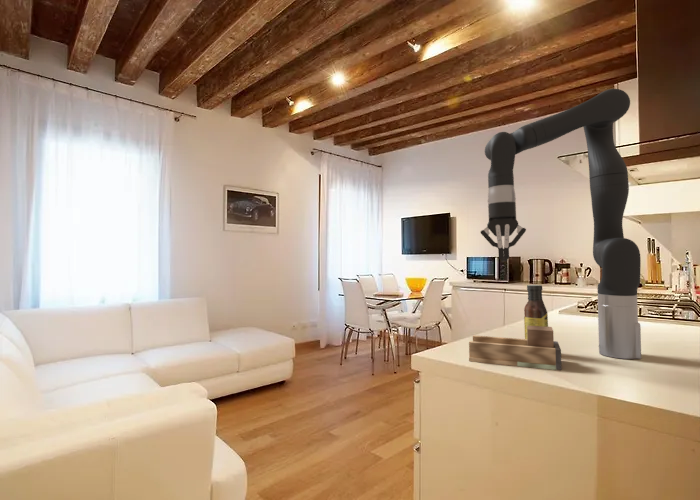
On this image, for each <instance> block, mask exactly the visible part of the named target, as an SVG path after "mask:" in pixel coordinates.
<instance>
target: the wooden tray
mask: <svg viewBox="0 0 700 500" xmlns="http://www.w3.org/2000/svg"><path fill="white" fill-rule="evenodd" d="M468 349H469V350H468V353H469V357H468V361H469V362H473V363H484V364H492V365H501V366H502V365H503V366H504V365H505V366H512V367H522V368H523V367H525V368H533V369H534V368H535V369H541V370H542V369H544V370H553V371H557V370H560V371H562V348H561V347H560V344H559V342H558V340H554V348H549V347H536V346H528V344H527V339H525V338H514V337H513V338H512V337H500V336H489V335H488V336H486V335H472V340H469V342H468Z"/></svg>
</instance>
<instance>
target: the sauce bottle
mask: <svg viewBox="0 0 700 500" xmlns="http://www.w3.org/2000/svg"><path fill="white" fill-rule="evenodd" d="M526 289H527V300H528V301H527V302H526V304H525V306H524V308H523V310H524V317H523V322H524V324H523V325H524V327H523V328H524V339H527V326H544V327H549V318H548V317H549V316H548V315H549V314H548V310H547V307H546V306H545V303H544V301H543V285H542V284H528V285H527V286H526Z"/></svg>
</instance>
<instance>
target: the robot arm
mask: <svg viewBox="0 0 700 500" xmlns="http://www.w3.org/2000/svg"><path fill="white" fill-rule="evenodd" d="M630 99H631V98H630V96H629V94H628V93H627V92H626V91H625V90H622V89H620V88H608V89H606V90H604V91H601V92H600V93H598V94H597V95H595V96H593V97H591V98H590V99H588V100H586V101H584V102H581V103H579V104H577V105H576V106H573V107H571V108H568V109H566V110H563V111H560V112H557V113H556V114H553V115H550V116H547V117H544V118H541V119H538V120H536V121H535V120H534V121H533V122H530V123H527V124H524V125H522V126H521V127H518V128H517V129H516V130H515V131H513V132H510V133H509V132H507V131H500V132H497V133H495V134H494V135H493V136H492V137H491V138H490V139H489V140H488V142H487V143H486V145H485V147H484V155H485V157H486V158H487V159H488V160H489V161H490V168H489V170H488V174H487V181H488V182H487V183H488V190H487V191H488V192H487V204H488V205H487V207H488V223H486V225H487V226H486V227H485V228H484V229H482V230H480V234H481V235H482V237H484V239H485V240H486V241H487V242H488V243H489V244H490V245H491V246H492V247H493V248H494V247H495V248H497V249H498V250H497V251H498V260H500V261H501V262H507V261H508V260H509V259H510V248H511V247H514V246H516V244H517V242H519V240H520V239H521V238H522V237H523V235H524V234H525V232H526V231H527V228H526V227H522V226H521V225H519V221H518V220H517V205H516V204H517V203H516V201H517V200H516V199H517V198H516V192H515V190H516V189H515V183H514V181H515V180H514V179H515V178H514V165H515V160H516V155H517V154H520V153H523V152H525V151H527V150H531V149H534V148H537V147H540V146H542V145H545V144H547V143H550V142H552V141H555V140H557V139H559V138H561V137H563V136H565V135H567V134H569V133H572V132H574V131H575V130H578V129H581V128H583V130H584V136H585V140H586V146H587V162H588V176H589V191H590V198H591V211H592V219H593V241H592V242H593V245H592V256H593V257H592V258H593V260H594V261H595V263H596V264H597V265H598V266H599V267H600V268H601V278H600V279H601V280H600V281H599V283H598V284H597V309H598V310H597V322H598V324H597V325H598V352H599V354H600V355H602V356H605V357H611V358H616V359H625V360H633V359H634V360H635V359H640V360H641V359H642V341H641V340H642V334H641V332H642V331H641V328H642V327H641V323H640V322H639V315H638V314H639V312H638V311H639V310H638V288H639V287H640V284H641V283H640V282H641V262H642V261H641V250H640V248H639V247H638V245H637V244H636V243H635V241H633V240H631V239H629V238H626V237H625V236H624V227H623V218H624V213H625V210H626V206H627V202H628V198H629V197H628V196H629V192H630V191H629V190H630V188H629V187H630V186H629V172H628V171H629V170H628V167H627V164H626V162H625V160H624V159H623V157H622V155H621V154H620V152H619V150H618V148H617V147H616V144H615V141H614V124H615V123H616V122H617V121H619V120H620V119H621V118H623V117H624V116H625V115H626V114H627V112H628V111H629V109H630V106H631V100H630ZM515 231H516V236H515V237H514V238H513V240H512V241H510V236H512V235H513V233H514V232H515ZM490 233H492V234H493V236H494V237H496V240H497V241H496V242H495V241H494V240H493V239H492V237H490ZM502 237H504V239H502ZM503 240H504V242H503ZM503 243H504V244H503ZM503 245H504V246H503Z"/></svg>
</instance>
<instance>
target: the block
mask: <svg viewBox="0 0 700 500" xmlns="http://www.w3.org/2000/svg"><path fill="white" fill-rule="evenodd" d="M554 341H555V340H554V329H553V327H552V326H548V327H544V326H527V344H528V346H536V347H549V348H554Z"/></svg>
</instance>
